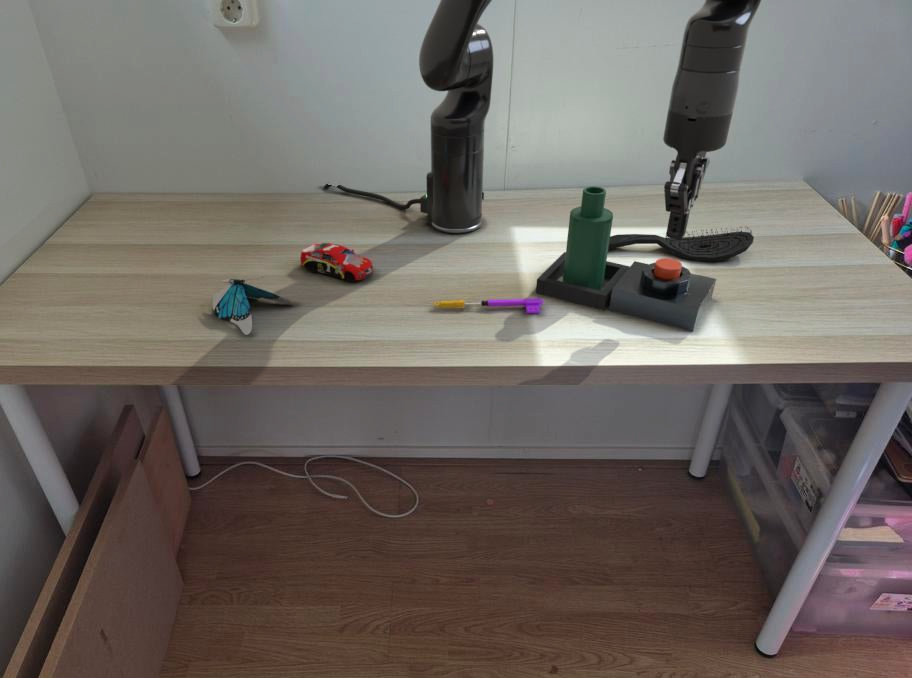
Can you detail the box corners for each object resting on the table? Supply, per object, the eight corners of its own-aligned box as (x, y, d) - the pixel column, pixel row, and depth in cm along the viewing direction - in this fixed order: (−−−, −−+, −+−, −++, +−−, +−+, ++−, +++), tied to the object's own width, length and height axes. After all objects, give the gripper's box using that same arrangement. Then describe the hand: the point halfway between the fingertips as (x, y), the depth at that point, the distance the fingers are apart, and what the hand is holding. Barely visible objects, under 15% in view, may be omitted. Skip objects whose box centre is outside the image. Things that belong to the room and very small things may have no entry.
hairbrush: (593, 222, 122) (748, 219, 117) (591, 242, 124) (744, 240, 119) (596, 243, 115) (760, 241, 111) (594, 263, 117) (755, 262, 113)
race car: (380, 273, 116) (379, 250, 113) (361, 286, 112) (359, 264, 110) (317, 255, 122) (314, 234, 119) (297, 268, 118) (294, 246, 116)
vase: (556, 290, 108) (566, 193, 99) (571, 274, 112) (582, 180, 103) (593, 300, 106) (607, 201, 97) (607, 283, 110) (622, 186, 101)
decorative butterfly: (238, 266, 111) (283, 265, 105) (252, 303, 113) (296, 304, 107) (190, 293, 104) (234, 294, 98) (206, 332, 107) (250, 335, 101)
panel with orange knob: (608, 310, 103) (613, 277, 100) (630, 282, 110) (636, 250, 106) (692, 332, 98) (701, 297, 94) (710, 301, 104) (719, 267, 101)
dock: (535, 293, 108) (536, 279, 107) (562, 265, 115) (564, 251, 114) (603, 311, 103) (606, 295, 102) (627, 280, 110) (630, 266, 109)
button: (650, 277, 100) (652, 265, 99) (657, 266, 103) (659, 256, 102) (675, 282, 99) (678, 271, 98) (682, 272, 101) (685, 261, 100)
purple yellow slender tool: (542, 302, 105) (434, 304, 106) (542, 296, 104) (434, 298, 105) (543, 314, 103) (434, 316, 104) (544, 309, 102) (434, 311, 103)
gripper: (684, 90, 93) (661, 215, 103) (654, 116, 84) (632, 249, 94) (744, 96, 90) (715, 224, 100) (720, 123, 81) (690, 260, 91)
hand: (675, 236), depth 97 cm, fingers closed
